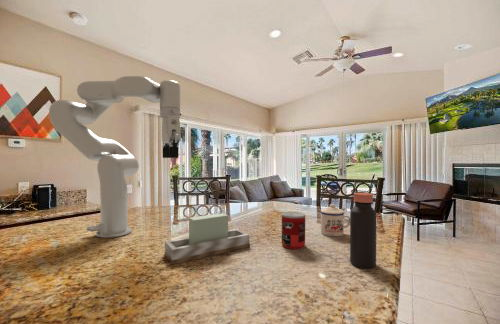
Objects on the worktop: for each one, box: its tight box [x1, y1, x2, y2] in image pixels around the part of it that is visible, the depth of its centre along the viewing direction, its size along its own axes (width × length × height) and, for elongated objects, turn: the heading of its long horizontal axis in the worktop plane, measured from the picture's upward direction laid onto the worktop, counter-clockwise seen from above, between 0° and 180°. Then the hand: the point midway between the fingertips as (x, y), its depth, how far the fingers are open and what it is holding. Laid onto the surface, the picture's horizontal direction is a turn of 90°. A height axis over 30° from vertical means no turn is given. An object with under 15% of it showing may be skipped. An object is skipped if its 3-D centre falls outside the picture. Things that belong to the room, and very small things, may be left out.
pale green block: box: [188, 212, 229, 245], centre depth 82 cm, size 12×4×10 cm, turn 124°
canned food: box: [281, 211, 306, 250], centre depth 86 cm, size 8×8×11 cm
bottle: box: [349, 192, 377, 270], centre depth 71 cm, size 7×7×20 cm
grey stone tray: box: [164, 228, 251, 265], centre depth 82 cm, size 26×9×4 cm, turn 123°
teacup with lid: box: [320, 203, 350, 237], centre depth 100 cm, size 12×9×12 cm
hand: (170, 157), depth 97 cm, fingers open, 9 cm apart
